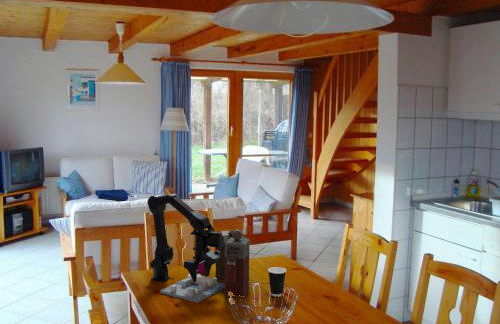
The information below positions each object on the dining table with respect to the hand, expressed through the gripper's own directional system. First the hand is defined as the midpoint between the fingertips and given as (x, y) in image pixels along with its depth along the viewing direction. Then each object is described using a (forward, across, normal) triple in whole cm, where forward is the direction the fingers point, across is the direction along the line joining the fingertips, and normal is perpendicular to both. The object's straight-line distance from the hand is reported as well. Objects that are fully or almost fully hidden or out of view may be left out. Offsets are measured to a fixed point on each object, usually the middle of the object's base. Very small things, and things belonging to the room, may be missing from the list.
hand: (201, 279), depth 225 cm
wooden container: (+4, +20, -3) cm, 21 cm away
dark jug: (+4, +1, -18) cm, 18 cm away
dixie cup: (+4, +10, -33) cm, 35 cm away
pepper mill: (+4, +18, +12) cm, 22 cm away
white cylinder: (0, 0, 0) cm, 1 cm away
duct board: (+4, -5, 0) cm, 6 cm away
